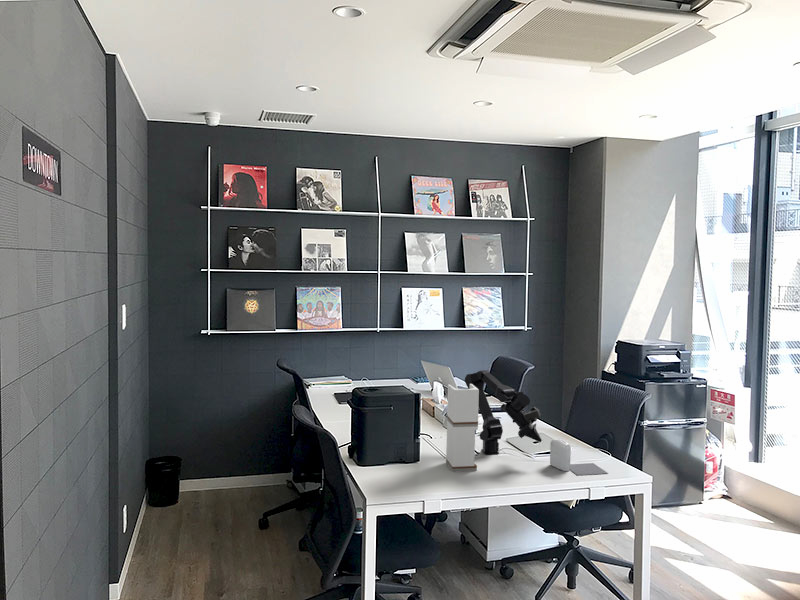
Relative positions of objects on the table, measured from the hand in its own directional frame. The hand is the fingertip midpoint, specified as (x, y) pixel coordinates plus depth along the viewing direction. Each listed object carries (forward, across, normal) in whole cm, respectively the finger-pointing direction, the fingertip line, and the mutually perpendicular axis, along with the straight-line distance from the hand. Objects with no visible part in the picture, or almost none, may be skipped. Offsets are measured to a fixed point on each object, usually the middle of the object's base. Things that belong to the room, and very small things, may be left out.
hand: (541, 441), depth 293 cm
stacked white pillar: (-15, -14, +30) cm, 37 cm away
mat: (+21, +2, -6) cm, 22 cm away
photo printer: (+14, 0, +2) cm, 14 cm away
